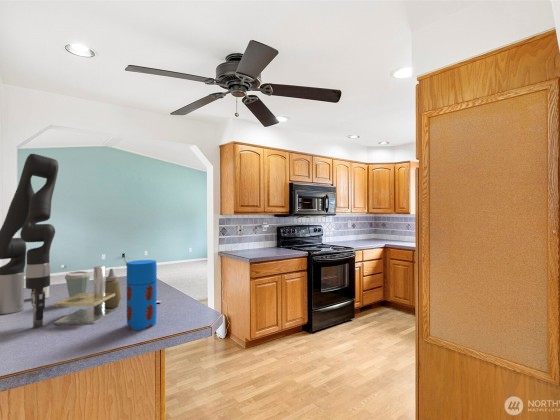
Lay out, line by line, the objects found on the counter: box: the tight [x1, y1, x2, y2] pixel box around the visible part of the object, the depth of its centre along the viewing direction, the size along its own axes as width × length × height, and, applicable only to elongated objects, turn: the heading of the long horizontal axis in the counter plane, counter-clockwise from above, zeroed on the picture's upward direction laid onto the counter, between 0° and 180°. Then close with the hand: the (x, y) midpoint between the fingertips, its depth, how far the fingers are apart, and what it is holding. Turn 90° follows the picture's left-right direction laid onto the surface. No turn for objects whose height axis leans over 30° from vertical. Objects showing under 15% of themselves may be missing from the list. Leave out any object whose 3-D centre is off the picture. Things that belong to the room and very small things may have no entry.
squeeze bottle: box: [105, 268, 122, 309], centre depth 144 cm, size 8×8×18 cm
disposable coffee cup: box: [64, 270, 91, 302], centre depth 151 cm, size 11×11×15 cm
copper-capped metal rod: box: [31, 290, 44, 329], centre depth 118 cm, size 3×3×14 cm
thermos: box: [126, 259, 158, 331], centre depth 120 cm, size 11×11×25 cm
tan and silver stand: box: [53, 265, 116, 325], centre depth 130 cm, size 16×16×21 cm
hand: (37, 317), depth 118 cm, fingers open, 6 cm apart
